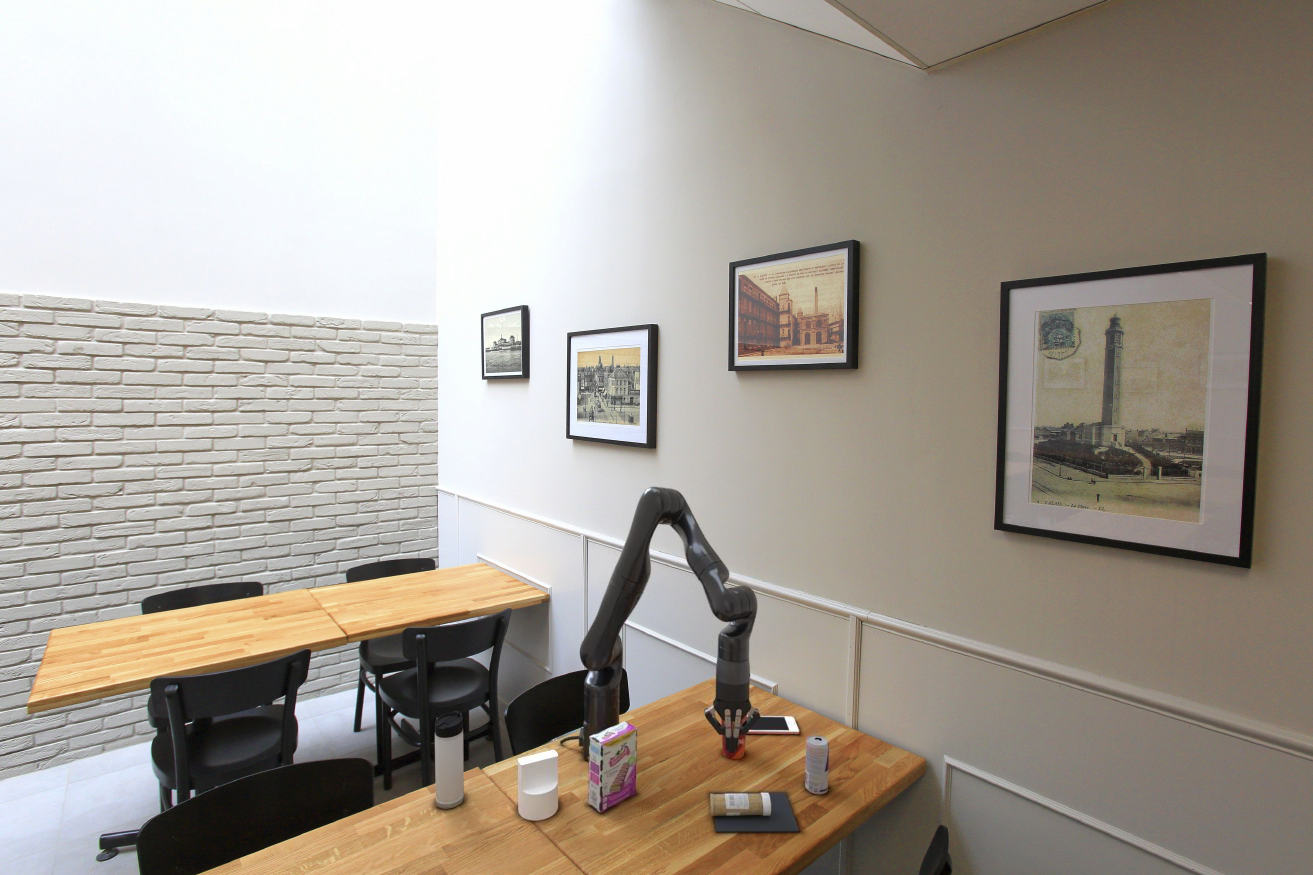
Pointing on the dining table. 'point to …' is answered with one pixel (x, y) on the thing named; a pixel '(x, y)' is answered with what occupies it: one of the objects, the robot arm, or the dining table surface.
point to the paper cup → (741, 744)
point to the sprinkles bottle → (740, 804)
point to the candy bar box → (612, 766)
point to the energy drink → (817, 764)
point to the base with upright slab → (538, 785)
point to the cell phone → (774, 725)
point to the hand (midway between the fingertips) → (731, 751)
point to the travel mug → (449, 760)
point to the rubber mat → (760, 818)
